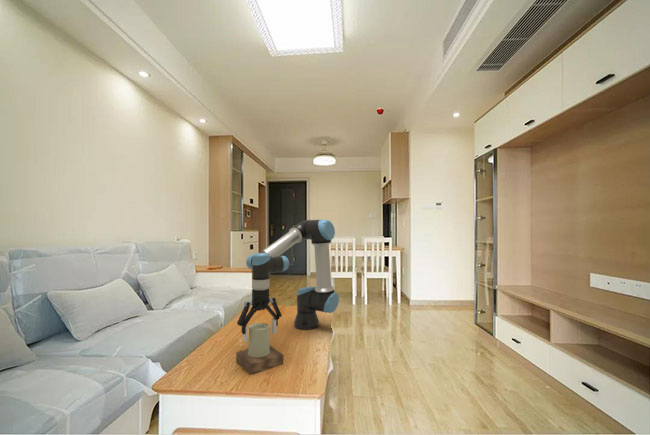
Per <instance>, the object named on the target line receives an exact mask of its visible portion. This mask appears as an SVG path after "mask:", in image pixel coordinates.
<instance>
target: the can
mask: <svg viewBox="0 0 650 435" xmlns="http://www.w3.org/2000/svg"><path fill="white" fill-rule="evenodd" d="M270 335H271V325H270V324H269V323H265V322H262V323H261V322H257V323H253V324H251V325H249V326H248V349H249V352H248V355H249V356H250V357H254V358H260V357H264V356H267V355H268V354H269V353H270V346H271V344H270V338H271V336H270Z"/></svg>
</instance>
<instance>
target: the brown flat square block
mask: <svg viewBox="0 0 650 435" xmlns="http://www.w3.org/2000/svg"><path fill="white" fill-rule="evenodd" d="M248 352H249V348H247V349H243V350H239V351H236V352H235V362H236V363H237V364H238V365H239V366H240V367H241V368H243V369H244V370H245V371H246V373H248V374H249V375H250V376H251V375H255V374H258V373H261V372H264V371H266V370H269V369H272V368H275V367H279V366H282V365H284V354H283V353H282V352H281V351H279V350H278V349H276V348H275V347H272V346H271V345H270V353H269V354H268V355H267V356H264V357H260V358H254V357H250V356H249V355H248Z"/></svg>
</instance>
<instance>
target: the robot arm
mask: <svg viewBox="0 0 650 435" xmlns="http://www.w3.org/2000/svg"><path fill="white" fill-rule="evenodd" d="M335 231H336V230H335V226H334V224H333V223H332V221H331V220H329V219H323V218H322V219H307V220H303V221H301V222H299V223H297V224H295V225H294V226H293V227H291V228H289V229H288V232H287V233H285V234H284V235H283V236H281V237H280V238H278V239H277V240H276V241H274V242H273V243H271V244H270V245H269V246H267V247H265V248H264V249H263V250H261V251H259V252H257V253H254V254H250V255H249V256H247V258H246V260H245V261H246V262H245V263H246V266H247V268H248V269H249V270H251V271H252V272H251V284H252V285H251V288H252V289H251V301H247V300H246V301H244V306H243V309H242V310H241V314H240V316H239V318H238V320H237V322H236V324H237V326H240V327H241V334H242V336H243V337H242V338H243V342H245V343H249V326H248V324H249V322H250V320H251V319H252V318H253V316H255V314H256V313H257V312H258V311H264V310H266V311H267V312H268V313H269V314H270V315H271V316H272V317H273V318H271V334H273V335H275V336H276V335H277V327H279V326H278V325H279V324H278V323H279V321H278V320H280V318H282V312H281V310H280V308H279V306H278V304H277V299H276V297H273V296H271V297H270V274H274V273H282V272H285V271H287V270H288V269H289V266H290V261H289V258H288V257H287V256H285V255H283V254H284V253H285V252H286V251H287V250H289V249H290V248H292V247H293V246H294V245H296V244H298V243H301V242H302V241H306V240H310V241H311V242H310V243H311V245H312V246H313V247H314V261H315V262H314V263H315V264H314V266H315V278H316V286H305V287H304V286H303V287H301V288H298V289H297V293H296V300H297V301H296V307H297V308H296V315H295V318H294V322H293V327H294V328H295V329H299V330H305V331H306V330H313V329H316V328H319V327H320V326H319V325H320V324H319V323H320V321H319V318H318V315H317V312H322V313H326V314H327V313H328V314H333V313H334V312H335V311H336V309H337V308H338V305H339V302H340V297H339V294H338V292H335V287H334V286H332V285H333V284H332V272H331V258H330V257H331V256H330V244H332V240H334V238H335V235H336V234H335V233H336V232H335ZM269 304H271V306H272V308H273V309H272V308H271V306H270V305H269ZM251 306H252V307H251ZM274 311H275V312H274Z"/></svg>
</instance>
